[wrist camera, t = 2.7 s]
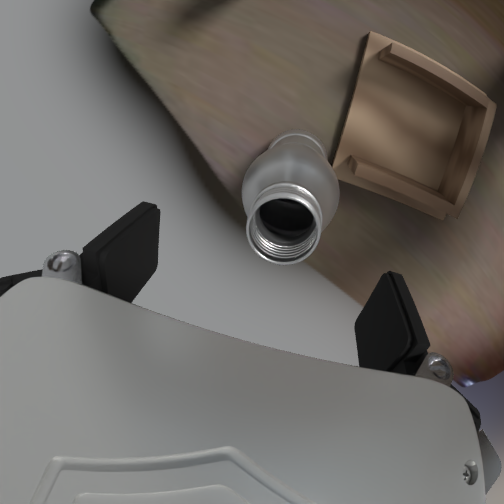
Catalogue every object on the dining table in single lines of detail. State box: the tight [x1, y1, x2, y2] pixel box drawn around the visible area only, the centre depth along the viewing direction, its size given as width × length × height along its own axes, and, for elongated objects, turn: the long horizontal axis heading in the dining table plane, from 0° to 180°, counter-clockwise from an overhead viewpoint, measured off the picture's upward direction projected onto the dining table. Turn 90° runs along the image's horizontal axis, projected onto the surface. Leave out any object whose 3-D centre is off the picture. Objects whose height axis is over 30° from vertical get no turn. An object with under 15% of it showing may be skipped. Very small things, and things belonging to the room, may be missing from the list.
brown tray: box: [331, 31, 497, 221], centre depth 23 cm, size 18×16×6 cm
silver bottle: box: [242, 129, 340, 265], centre depth 22 cm, size 6×7×20 cm
